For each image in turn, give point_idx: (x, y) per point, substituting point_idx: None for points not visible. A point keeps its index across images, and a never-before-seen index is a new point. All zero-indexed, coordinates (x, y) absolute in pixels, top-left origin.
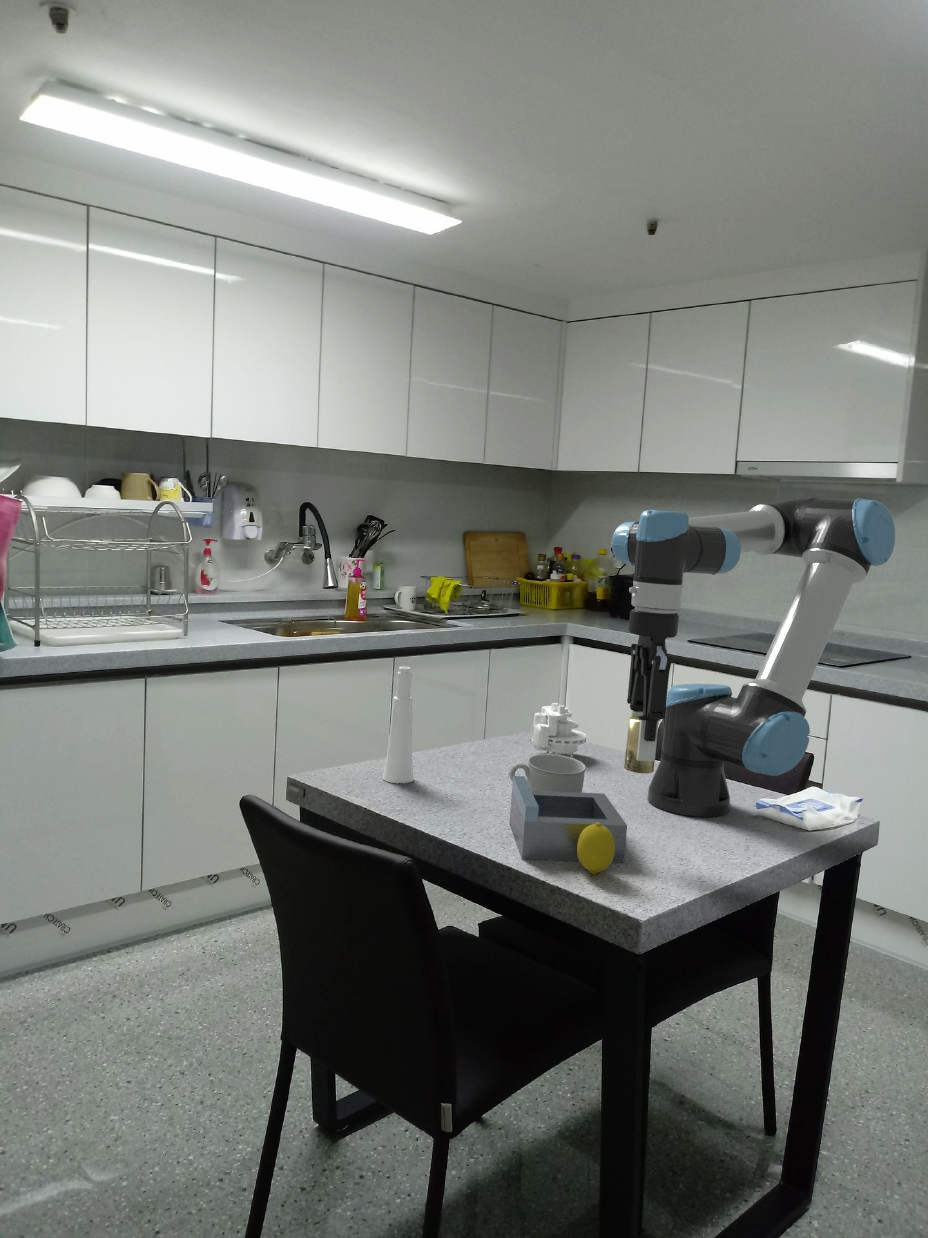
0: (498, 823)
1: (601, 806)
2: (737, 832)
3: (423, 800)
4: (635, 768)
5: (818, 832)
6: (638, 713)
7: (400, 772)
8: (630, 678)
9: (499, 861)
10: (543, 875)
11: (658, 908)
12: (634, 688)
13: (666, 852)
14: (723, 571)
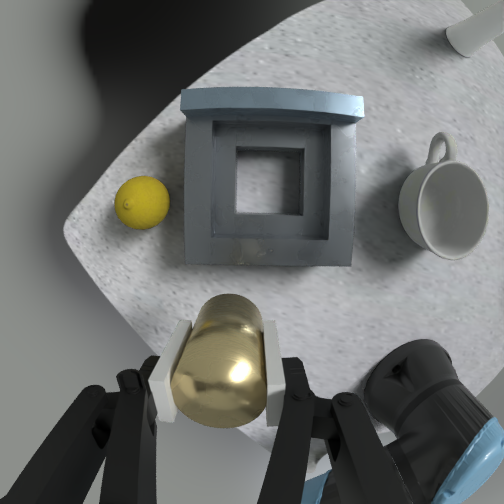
0: None
1: (279, 243)
2: None
3: (402, 40)
4: (199, 312)
5: (312, 465)
6: (267, 400)
7: (454, 33)
8: (373, 466)
9: (191, 87)
10: (149, 137)
11: (82, 255)
12: (286, 453)
13: None
14: None
